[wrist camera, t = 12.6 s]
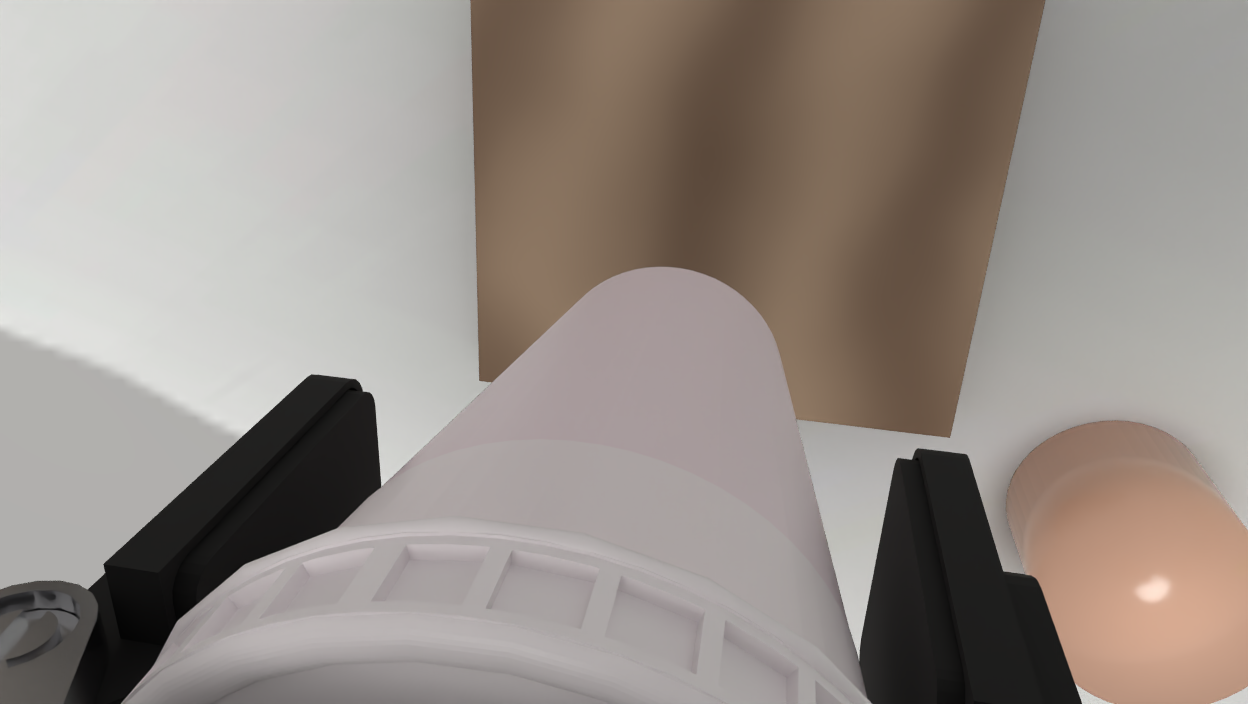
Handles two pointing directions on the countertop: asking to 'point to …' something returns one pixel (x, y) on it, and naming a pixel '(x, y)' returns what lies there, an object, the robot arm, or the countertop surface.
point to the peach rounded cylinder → (1135, 563)
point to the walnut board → (756, 175)
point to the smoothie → (562, 539)
